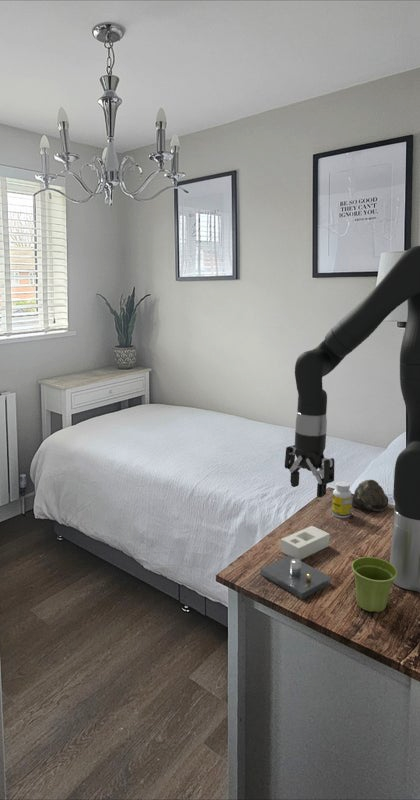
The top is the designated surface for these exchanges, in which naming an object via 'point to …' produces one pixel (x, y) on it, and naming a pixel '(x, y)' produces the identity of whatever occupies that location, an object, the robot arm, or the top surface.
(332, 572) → the top surface
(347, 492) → the supplement bottle
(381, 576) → the plant pot
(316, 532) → the white block with recesses
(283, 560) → the base plate
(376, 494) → the fossil
